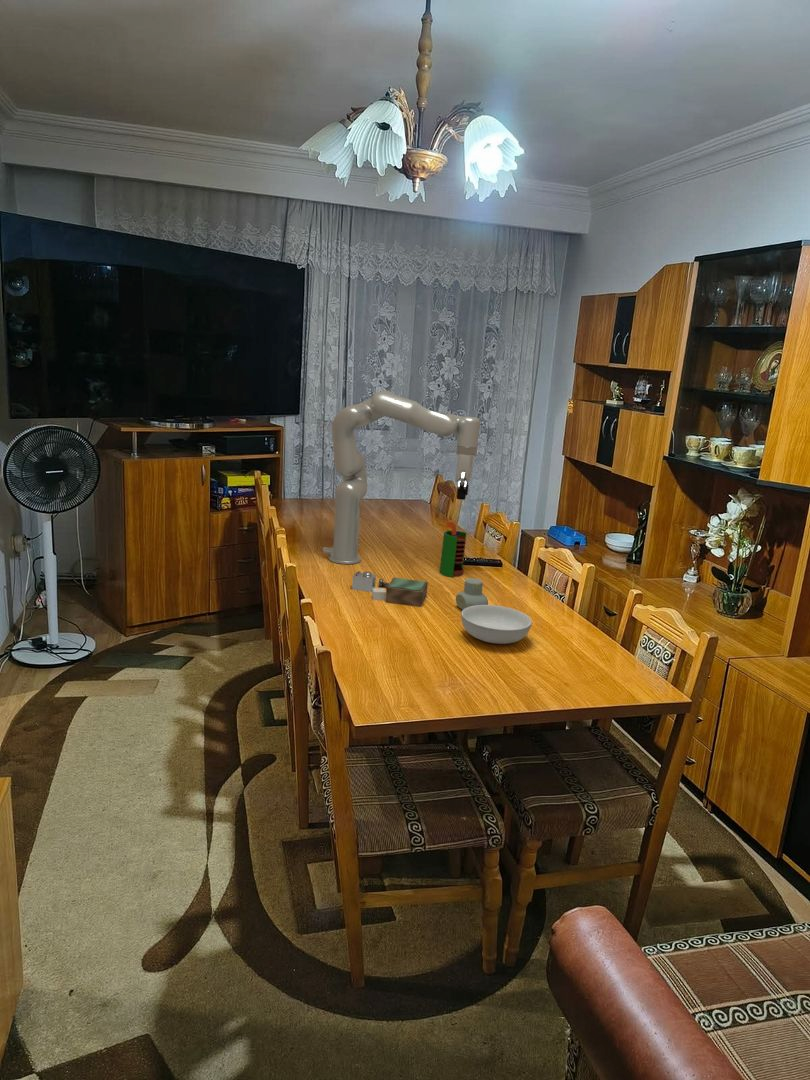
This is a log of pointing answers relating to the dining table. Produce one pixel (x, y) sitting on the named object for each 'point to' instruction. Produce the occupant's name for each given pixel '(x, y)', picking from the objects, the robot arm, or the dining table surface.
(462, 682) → the dining table surface
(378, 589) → the block
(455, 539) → the motor
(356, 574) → the housing
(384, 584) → the loose bolt
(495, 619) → the serving bowl
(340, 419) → the robot arm
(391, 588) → the plinth
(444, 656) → the dining table surface
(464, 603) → the grey pipe tee
